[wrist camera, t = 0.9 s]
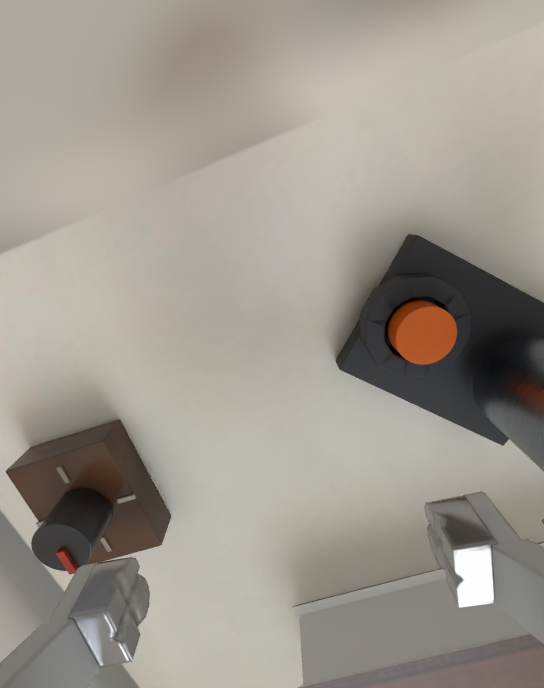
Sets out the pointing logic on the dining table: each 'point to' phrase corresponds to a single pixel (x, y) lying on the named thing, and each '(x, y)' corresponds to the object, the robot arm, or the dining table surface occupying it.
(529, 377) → the kettle
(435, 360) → the orange button
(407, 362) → the button base
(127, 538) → the dial panel
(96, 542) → the dial knob
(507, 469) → the dining table surface
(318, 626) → the book
